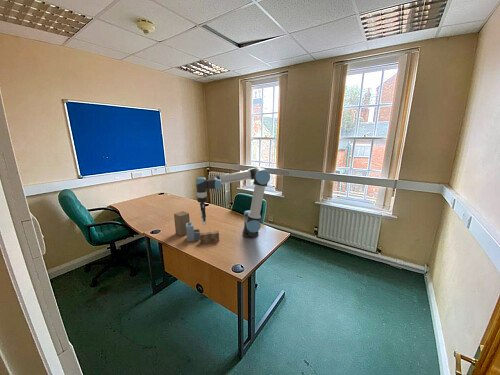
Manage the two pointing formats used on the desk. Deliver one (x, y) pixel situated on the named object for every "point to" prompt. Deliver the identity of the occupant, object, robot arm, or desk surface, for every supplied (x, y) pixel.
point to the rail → (209, 237)
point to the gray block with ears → (192, 232)
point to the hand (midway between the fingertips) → (203, 221)
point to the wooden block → (181, 222)
